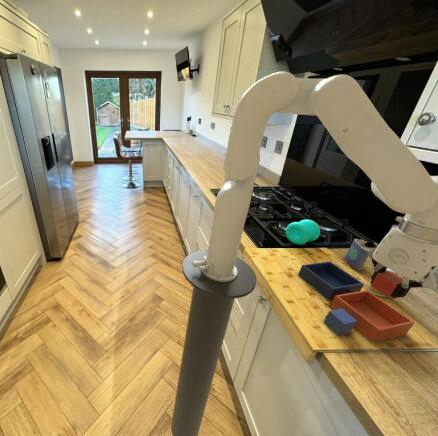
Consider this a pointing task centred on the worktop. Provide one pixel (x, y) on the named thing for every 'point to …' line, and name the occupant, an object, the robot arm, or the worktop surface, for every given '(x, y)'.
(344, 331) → the slate block
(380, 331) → the terracotta bin
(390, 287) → the brick block
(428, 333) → the worktop surface
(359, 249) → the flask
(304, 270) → the navy bin
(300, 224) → the donuts
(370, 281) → the supplement bottle
